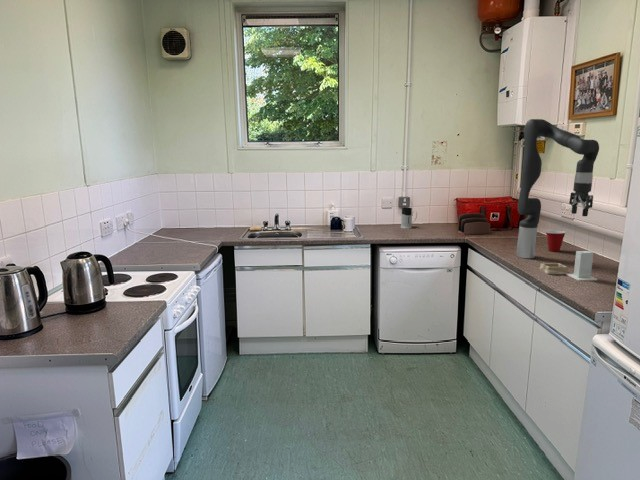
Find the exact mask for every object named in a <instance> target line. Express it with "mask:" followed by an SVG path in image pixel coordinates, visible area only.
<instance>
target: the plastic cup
mask: <svg viewBox="0 0 640 480" xmlns="http://www.w3.org/2000/svg"><path fill="white" fill-rule="evenodd" d="M566 233H567V232H566V231H563V230H546V231H545V234H546V237H547V239H546V240H547V241H546V242H547V246H548V247H547V249H548V251H549V252H552V253H553V252H555V253H556V252H557V253H559V252H560V250H561V247H562V244H563V241H564V237H565V234H566Z"/></svg>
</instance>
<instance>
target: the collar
mask: <svg viewBox="0 0 640 480" xmlns="http://www.w3.org/2000/svg"><path fill="white" fill-rule="evenodd" d="M568 268H569V267H568V266H566V265H564V264H562V263H559V262H551V263H550V262H548V263H546V262H545V263H544V262H543V263H540V264H539V271H541V272H542V273H544V274H547V275H566V274H567V273H568Z"/></svg>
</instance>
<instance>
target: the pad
mask: <svg viewBox="0 0 640 480" xmlns="http://www.w3.org/2000/svg"><path fill="white" fill-rule="evenodd" d="M565 276H568V277H570V278H572V279H575V280H576V281H578V282H584V281H598V279H597V278H596V277H593V276H592V275H591V277H576V276H574V272H571V273H568V272H567V274H565Z"/></svg>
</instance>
